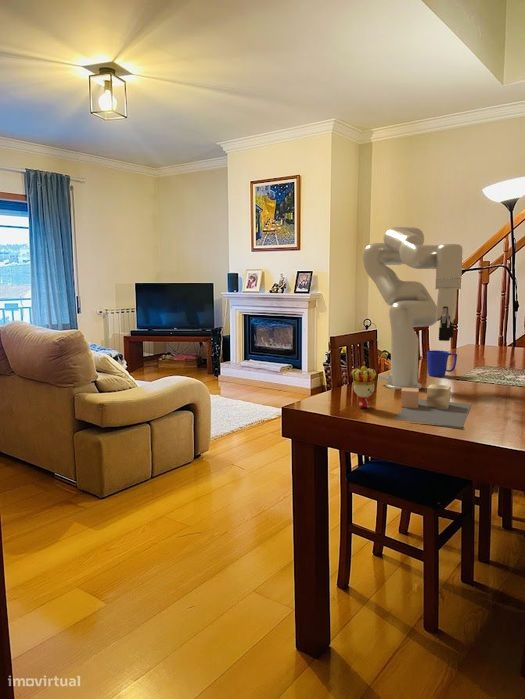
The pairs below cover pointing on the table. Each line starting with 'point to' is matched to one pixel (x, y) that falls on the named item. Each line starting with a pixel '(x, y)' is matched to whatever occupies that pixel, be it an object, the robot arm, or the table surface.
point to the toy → (364, 385)
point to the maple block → (438, 396)
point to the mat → (436, 415)
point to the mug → (438, 362)
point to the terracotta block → (409, 397)
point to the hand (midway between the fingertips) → (446, 339)
